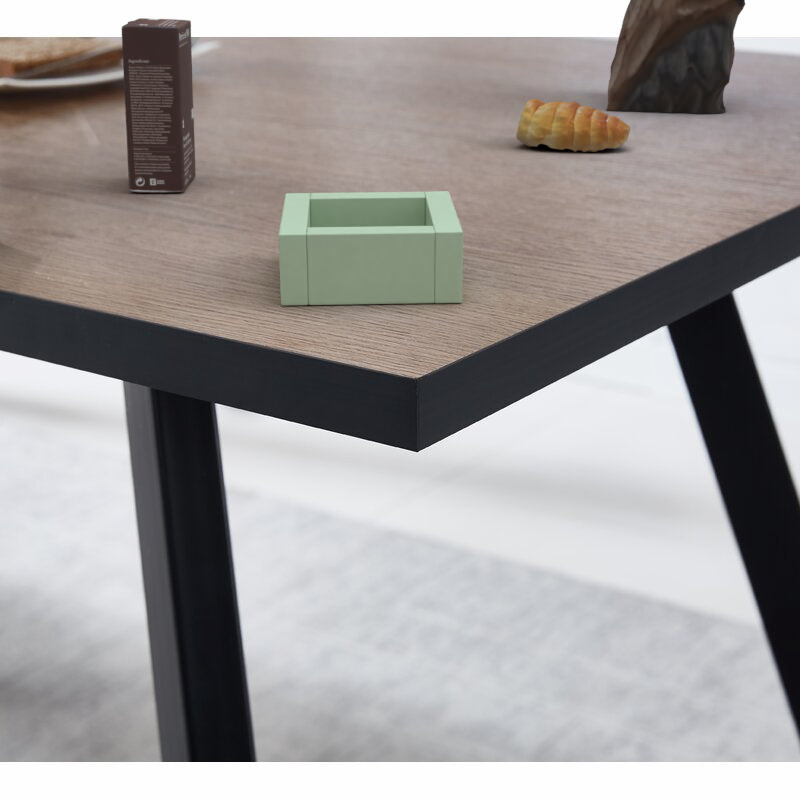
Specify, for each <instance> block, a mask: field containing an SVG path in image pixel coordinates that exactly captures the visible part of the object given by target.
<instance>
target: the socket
mask: <svg viewBox="0 0 800 800" xmlns="http://www.w3.org/2000/svg"><path fill="white" fill-rule="evenodd" d="M277 236H278V237H277V239H278V263H279V264H278V265H279V267H278V268H279V286H280V287H279V289H280V291H279V292H280V305H281V306H282V307H283V306H284V307H285V306H286V307H287V306H288V307H289V306H308V305H309V306H336V305H337V306H343V305H345V306H347V305H403V304H404V305H405V304H406V305H407V304H408V305H409V304H412V305H413V304H462V303H463V272H464V271H463V269H464V268H463V266H464V263H463V261H464V260H463V259H464V231H463V228H462V226H461V222H460V219H459V216H458V214H457V211H456V208H455V205H454V202H453V200H452V197H451V194H450V191H448V190H444V191H443V190H442V191H441V190H439V191H438V190H436V191H435V190H434V191H430V190H429V191H367V192H364V191H362V192H359V191H358V192H356V191H355V192H289V193H288V192H287V193H285V195H284V201H283V206H282V212H281V218H280V224H279V228H278V234H277Z"/></svg>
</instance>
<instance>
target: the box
mask: <svg viewBox="0 0 800 800" xmlns="http://www.w3.org/2000/svg"><path fill="white" fill-rule="evenodd" d="M121 42H122V43H121V44H122V46H121V48H122V67H123V89H124V108H125V112H124V113H125V114H124V115H125V126H126V127H125V131H126V151H127V152H126V153H127V154H126V155H127V173H128V190H129V191H130V193H131V192H132V193H138V194H168V193H169V194H171V193H182V192H184V191H185V190H186V189H187V187H188V186H189V184H190V183H191V181H193V179H194V178H195V177H196V146H195V144H196V143H195V141H196V140H195V117H194V91H193V90H194V89H193V86H194V85H193V59H192V58H193V57H192V54H193V53H192V21H191V20H189V19H177V18H176V19H174V18H141V17H140V18H137V19H135V20H130V21H127V23H126V24H124V25H122V26H121Z"/></svg>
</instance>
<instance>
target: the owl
mask: <svg viewBox="0 0 800 800" xmlns="http://www.w3.org/2000/svg"><path fill="white" fill-rule="evenodd" d="M745 1H746V0H630V1H629V2H628V5H627V7H626V10H625V12H624V17H623V19H622V24H621V29H620V31H619V36H618V39H617V44H616V49H615V54H614V57H613V59H612V62H611V65H610V76H609V80H608V87H607V106H606V111H608V112H610V111H612V112H613V111H614V112H619V111H620V112H639V113H641V112H642V113H667V114H669V113H670V114H681V113H682V114H697V115H698V114H699V115H709V114H710V115H713V114H715V115H716V114H723V113H724V114H725V113H726V111H727V109H726V106H725V103H724V92H725V89H726V86H727V85H728V84H729V83H730V79H731V73H732V68H733V66H734V60H735V54H736V51H735V50H736V47H735V40H734V32H735V28H736V25H737V22H738V18H739V16H740V14H741V13H742V11H743V10H744V8H745V6H746V2H745Z"/></svg>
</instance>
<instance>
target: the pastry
mask: <svg viewBox="0 0 800 800" xmlns="http://www.w3.org/2000/svg"><path fill="white" fill-rule="evenodd" d="M630 133H631V127H630V125H629V124H627V123H626V122H624V121H623V120H621V118H619V117H617V116H614V115H609V114H607V113H605V112H603V111H601V110H599V109H596V108H594V107H591V106H587V105H586V106H585V105H584V106H583V105H581V104H580V103H578V102H577V101H571V102H567V101H566V102H565V101H557V100H556V101H552V102H544V101H542V100H540V99H538V98H532V99H529V100H528V101H526V102H525V106H524V107H523V109H522V111H521V114H520V116H519V121H518V125H517V130H516V133H515V136H516V137H515V138H516V139H517V141H519V142H520V143H521V144H523V145H525V146H527V147H528V148H531V147H536V148H538V146H539V145H545V146H547V147H548V148H550V149H554V150H561V151H563V150H566V149H567V150H572V151H573V152H574V153H576V152H577V151H581V152H583V153H585V152H593V153H594V152H595V153H596V152H598V151H603V150H605V149H619V148H620V147H622V146H624V145H625V144H626V143H627V142H628V140H629V136H630Z"/></svg>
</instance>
